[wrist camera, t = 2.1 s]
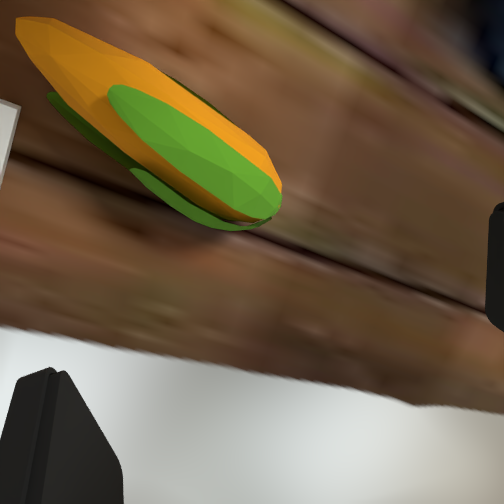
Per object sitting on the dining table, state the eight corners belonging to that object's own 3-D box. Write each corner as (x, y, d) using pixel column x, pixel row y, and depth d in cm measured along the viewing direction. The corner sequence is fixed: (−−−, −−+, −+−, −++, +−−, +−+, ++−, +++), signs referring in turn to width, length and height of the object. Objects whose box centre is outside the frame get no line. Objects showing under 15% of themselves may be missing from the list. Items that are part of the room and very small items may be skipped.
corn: (261, 272, 30) (-43, 86, 21) (230, 236, 37) (-11, 82, 28) (325, 186, 30) (38, -50, 20) (282, 164, 36) (51, -20, 27)
